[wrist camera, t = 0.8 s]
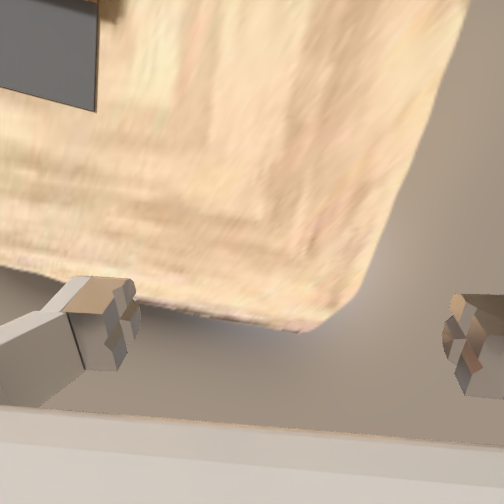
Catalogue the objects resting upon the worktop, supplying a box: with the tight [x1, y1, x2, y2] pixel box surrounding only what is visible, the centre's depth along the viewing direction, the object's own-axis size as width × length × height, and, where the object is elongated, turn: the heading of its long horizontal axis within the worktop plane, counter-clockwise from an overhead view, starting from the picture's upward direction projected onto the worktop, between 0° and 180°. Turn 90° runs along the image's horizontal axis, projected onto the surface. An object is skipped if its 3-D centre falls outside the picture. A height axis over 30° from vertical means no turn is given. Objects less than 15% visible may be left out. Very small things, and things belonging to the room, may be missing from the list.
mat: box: [0, 0, 98, 111], centre depth 47 cm, size 12×18×1 cm, turn 76°
